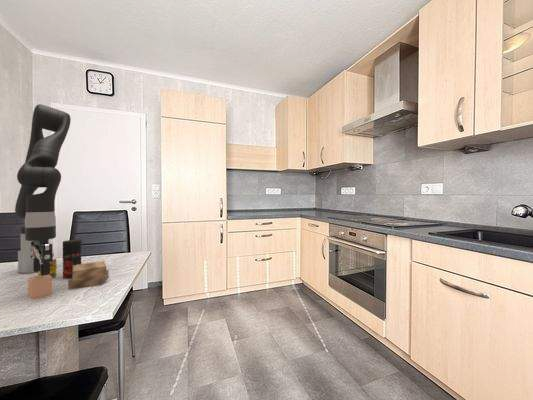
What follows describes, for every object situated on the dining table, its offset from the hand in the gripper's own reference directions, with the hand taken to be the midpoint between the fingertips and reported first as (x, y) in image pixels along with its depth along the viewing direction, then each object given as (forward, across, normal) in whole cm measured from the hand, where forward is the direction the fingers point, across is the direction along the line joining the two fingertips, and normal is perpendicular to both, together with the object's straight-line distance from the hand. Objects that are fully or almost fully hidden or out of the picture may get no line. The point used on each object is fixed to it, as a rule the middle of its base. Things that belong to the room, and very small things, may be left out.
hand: (41, 273), depth 79 cm
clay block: (+8, 0, 0) cm, 8 cm away
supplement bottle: (+7, +21, -6) cm, 23 cm away
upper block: (+4, 0, -14) cm, 14 cm away
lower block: (+8, 0, -14) cm, 16 cm away
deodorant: (+7, +14, -12) cm, 21 cm away
